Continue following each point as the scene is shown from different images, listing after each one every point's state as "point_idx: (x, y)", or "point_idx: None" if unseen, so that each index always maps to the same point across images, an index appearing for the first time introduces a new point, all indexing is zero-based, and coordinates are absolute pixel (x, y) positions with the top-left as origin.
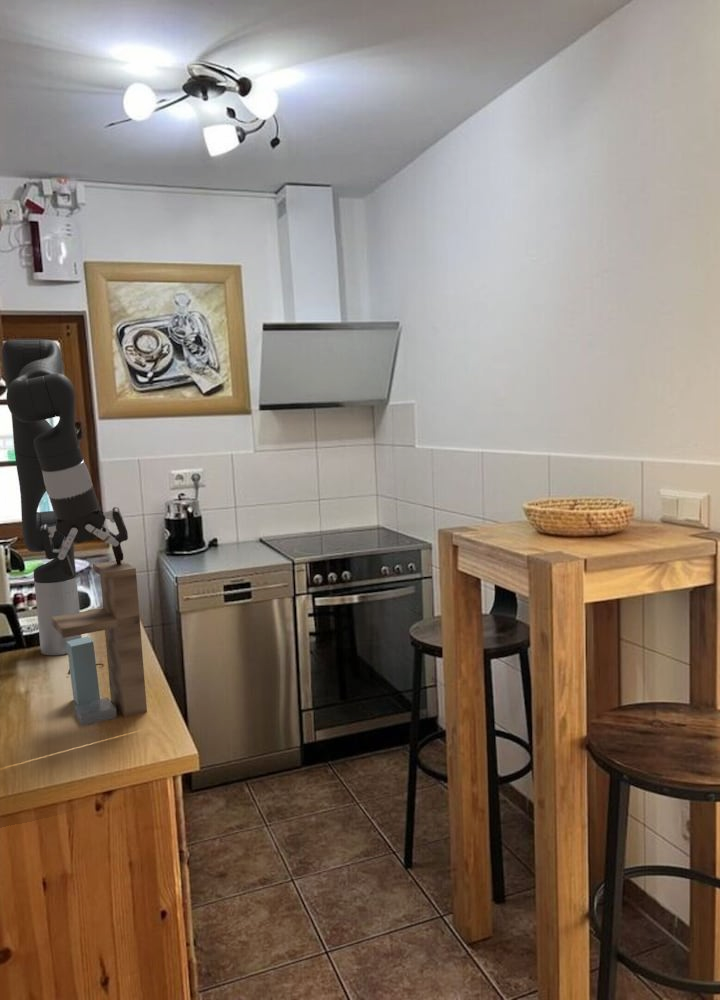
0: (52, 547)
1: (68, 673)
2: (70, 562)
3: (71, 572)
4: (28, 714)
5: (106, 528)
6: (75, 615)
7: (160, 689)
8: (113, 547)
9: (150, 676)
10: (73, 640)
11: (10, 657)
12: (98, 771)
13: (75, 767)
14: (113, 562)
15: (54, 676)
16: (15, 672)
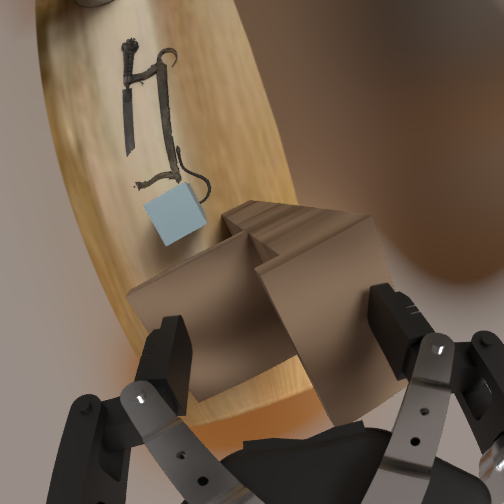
0: (98, 434)
1: (125, 83)
2: (174, 349)
3: (190, 363)
4: (109, 241)
5: (445, 406)
6: (188, 296)
7: (288, 178)
8: (402, 378)
9: (264, 115)
10: (157, 202)
11: (37, 14)
12: (253, 403)
13: (227, 395)
14: (349, 269)
15: (104, 85)
16: (48, 67)
